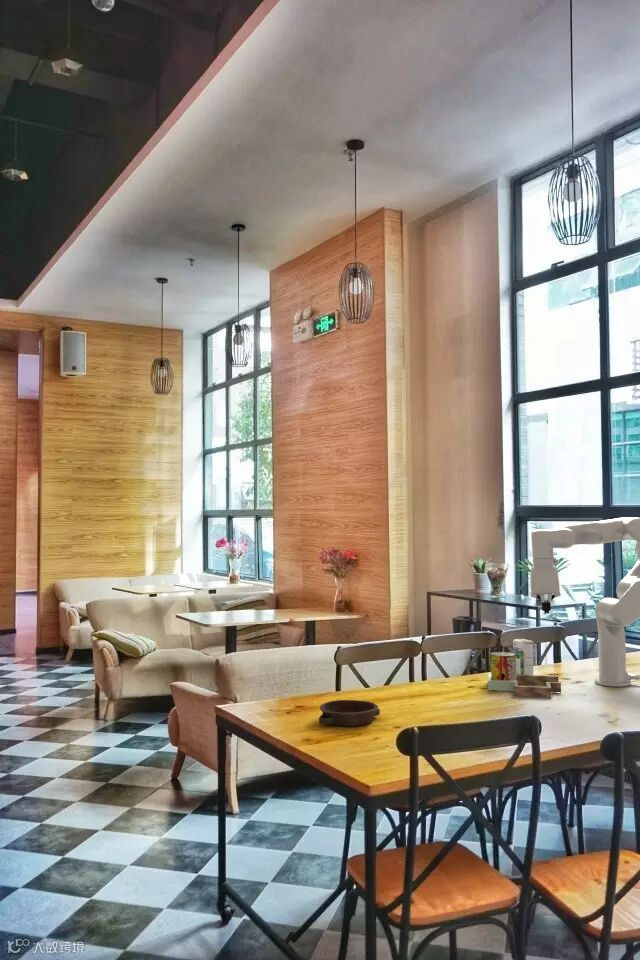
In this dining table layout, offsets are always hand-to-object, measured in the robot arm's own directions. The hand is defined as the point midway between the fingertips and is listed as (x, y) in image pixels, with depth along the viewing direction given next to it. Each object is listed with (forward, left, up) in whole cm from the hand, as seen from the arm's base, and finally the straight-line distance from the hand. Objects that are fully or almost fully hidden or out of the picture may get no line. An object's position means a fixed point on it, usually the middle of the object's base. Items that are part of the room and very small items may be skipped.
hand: (546, 612), depth 294 cm
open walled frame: (+8, +10, -27) cm, 30 cm away
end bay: (+16, +5, -27) cm, 32 cm away
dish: (+62, +65, -27) cm, 94 cm away
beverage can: (+16, +5, -27) cm, 32 cm away
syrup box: (+8, -15, -27) cm, 32 cm away
